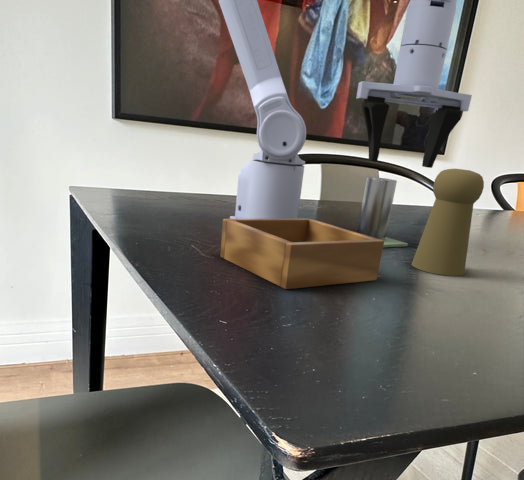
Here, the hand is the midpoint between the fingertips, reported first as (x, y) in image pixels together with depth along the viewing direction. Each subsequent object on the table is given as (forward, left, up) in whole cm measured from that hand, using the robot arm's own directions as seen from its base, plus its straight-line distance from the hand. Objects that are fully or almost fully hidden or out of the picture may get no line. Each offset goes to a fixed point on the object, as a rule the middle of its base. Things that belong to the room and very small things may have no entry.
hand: (399, 164), depth 68 cm
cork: (+14, -6, -11) cm, 19 cm away
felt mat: (0, -3, -10) cm, 11 cm away
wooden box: (+10, -24, -10) cm, 28 cm away
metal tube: (0, -3, -10) cm, 10 cm away
